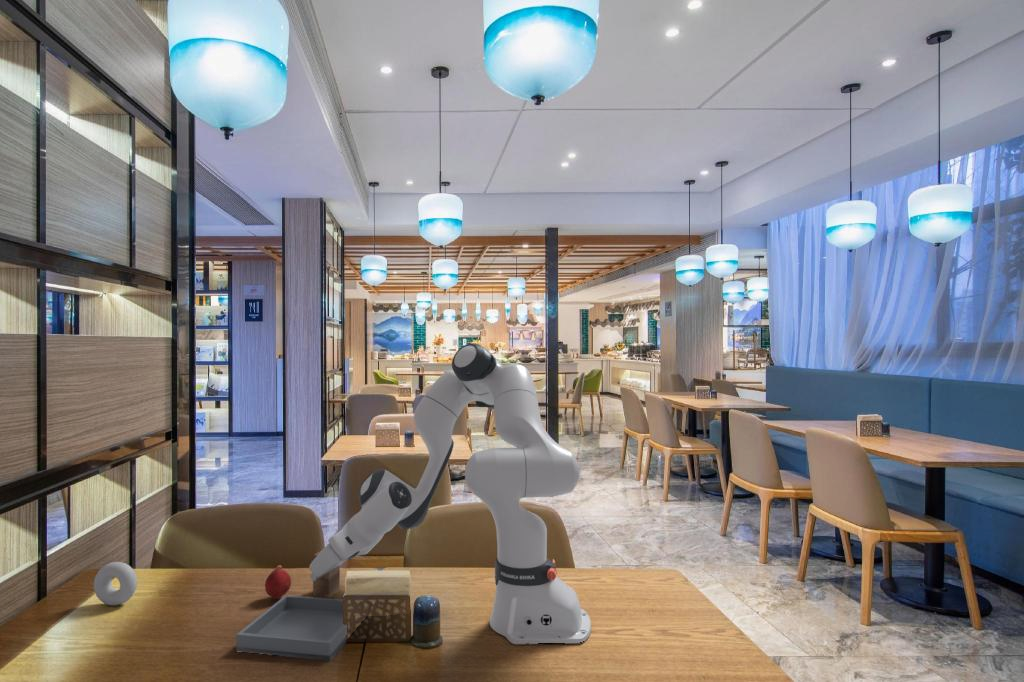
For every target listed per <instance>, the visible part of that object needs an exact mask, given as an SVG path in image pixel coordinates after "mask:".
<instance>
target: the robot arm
mask: <svg viewBox="0 0 1024 682" xmlns="http://www.w3.org/2000/svg"><path fill="white" fill-rule="evenodd" d="M473 402H475V405H476V406H477V407H479V408H488V409H491V410H493V412H494V428H495V431H496V433H497V434H498V436H499V437H500V439H502V440H503V441H504V442H505V443H508V444H509V445H511V446H513V447H493V448H487V449H482V450H478V451H475V452H473V454H471V456H470V457H469V459H468V460H467V462H466V465H465V469H464V479H465V483H466V486H467V487H468V489H469V491H470V492H471V493H472V494H473V495H475V497H477V498H478V499H480V500H481V501H482V502H483V503H484V504H485V505H486V507H487V508H488V510H489V512H490V513H491V515H492V518H493V520H494V523H495V524H494V525H495V530H496V540H497V541H496V543H497V544H496V545H497V546H496V547H497V556H496V559H495V562H494V581H495V594H494V600H493V606H492V611H491V614H490V617H489V625H490V628H491V630H493V631H494V632H496V633H498V634H499V635H501V636H503V637H505V638H506V639H507V640H508V641H509V642H510V643H511V644H513V645H527V644H526V643H529V644H528V645H539V644H538V643H565V644H581V643H580V642H582V643H584V642H586V640H588V639H589V637H590V635H591V630H592V624H591V623H592V621H591V618H590V615H589V613H588V612H587V611H586V610H585V609H583V608H581V604H580V601H579V597H578V594H577V593H576V591H575V590H574V588H572V587H571V586H569V585H568V584H566V583H565V582H564V581H563V580H561V579H560V578H559V577H558V576H557V572H558V571H557V570H556V569H557V568H556V567H557V566H556V561H555V559H554V558H553V559H552V560H551V559H550V558H548V555H547V551H548V549H547V548H548V547H547V546H548V542H547V540H548V536H547V535H548V530H547V525H546V522H544V520H543V519H542V518H541V517H540V516H539V515H537V514H536V513H534V512H532V511H529V510H527V509H526V508H524V507H522V506H521V505H520V500H521V499H525V498H529V499H530V498H553V497H558V496H563V495H568V494H570V493H572V492H573V491H574V490H575V489H576V487H577V485H578V483H579V481H580V477H581V475H580V473H581V471H580V465H579V462H578V460H577V457H576V456H575V455H574V454H573V453H572V452H571V451H570V450H569V449H566V448H564V447H563V446H561V445H560V444H559V443H558V442H556V441H555V440H554V439H553V438H552V437H551V436H550V434H549V433H548V431H546V428H545V426H544V425H543V421H542V417H541V413H540V407H539V400H538V394H537V390H536V386H535V382H534V379H533V377H532V374H531V372H530V371H529V369H528V368H527V367H525V366H524V365H521V364H518V363H509V364H506V365H503V364H502V363H501V362H500V361H499V360H498V359H497V358H496V357H495V356H494V355H493V354H492V353H491V351H489V349H488V348H486V347H484V346H483V345H482V344H480V343H479V344H478V343H475V342H473V343H471V342H470V343H468V344H465V345H463V346H462V347H460V348H458V350H456V352H455V353H454V355H453V357H452V360H451V369H450V370H449V369H448V370H446V371H445V372H443V373H442V374H441V375H440V376H439V377H438V378H437V379H436V380H435V381H434V383H433V384H432V385H431V386H430V387H429V389H428V390H427V391H426V392H425V394H424V395H423V396H422V398H421V400H420V401H419V402H418V404H417V406H416V408H415V410H414V412H413V423H414V426H415V429H416V432H417V433H418V434H419V436H420V438H421V439H422V441H423V443H424V444H425V446H426V449H427V451H428V456H429V457H428V462H427V464H426V467H425V468H424V472H423V473H422V475H421V478H420V480H419V482H418V484H417V486H416V487H415V488H414V487H412V486H411V485H410V484H407V482H406V481H405V482H404V481H403V480H402V479H400V478H399V477H398V476H397V475H395V474H393V473H391V472H390V471H389V470H387V469H385V468H383V469H377V470H375V471H372V472H371V473H370V474H368V476H367V477H366V478H365V479H364V480H363V482H362V483H361V484H360V487H359V489H358V496H359V497H358V498H359V504H360V506H361V508H360V510H359V512H356V513H355V514H354V515H353V516H352V517H351V518H350V519H349V520H348V521H347V522H346V523H345V524H344V525H343V526H342V527H341V528H340V529H339V530H337V532H336V533H334V534H333V535H331V536H330V538H329V539H328V544H326V546H324V547H323V548H322V551H321V550H320V551H321V552H320V551H319V552H320V553H319V554H318V555H317V557H316V558H315V559H314V560H312V561H311V563H310V564H309V567H308V569H309V571H310V572H311V573H310V575H309V578H310V579H311V581H312V582H313V581H315V580H317V579H318V578H320V577H322V576H323V575H325V574H326V573H328V572H329V571H331V570H332V569H334V568H336V567H337V566H339V565H340V566H341V565H342V564H343V563H345V562H347V561H349V560H351V559H353V558H355V557H359V556H364V555H367V554H368V553H369V552H370V551H371V550H372V549H373V548H374V547H375V546H376V545H377V544H378V543H379V542H380V541H382V539H383V537H384V535H385V534H386V533H388V532H390V531H392V529H393V528H394V527H396V526H397V527H399V528H400V529H402V530H403V531H404V530H410V529H414V528H417V527H419V526H420V525H421V524H422V523H423V522H424V520H425V518H426V516H427V514H428V512H429V509H430V506H431V503H432V499H433V497H434V495H435V492H436V490H437V487H438V485H439V483H440V481H441V479H442V476H443V475H444V472H445V470H446V467H447V464H448V463H449V460H450V457H451V455H452V453H453V448H454V445H455V441H454V440H453V430H454V427H455V424H456V422H457V420H458V419H459V417H460V415H461V414H462V412H463V411H464V409H465V408H466V407H467V406H468V404H470V403H473ZM583 641H584V642H583Z"/></svg>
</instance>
